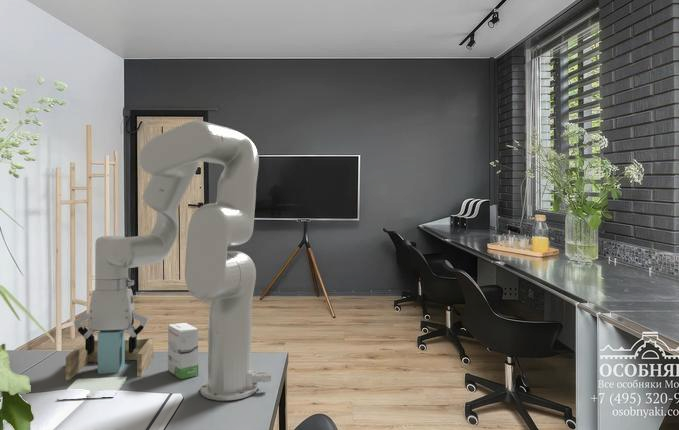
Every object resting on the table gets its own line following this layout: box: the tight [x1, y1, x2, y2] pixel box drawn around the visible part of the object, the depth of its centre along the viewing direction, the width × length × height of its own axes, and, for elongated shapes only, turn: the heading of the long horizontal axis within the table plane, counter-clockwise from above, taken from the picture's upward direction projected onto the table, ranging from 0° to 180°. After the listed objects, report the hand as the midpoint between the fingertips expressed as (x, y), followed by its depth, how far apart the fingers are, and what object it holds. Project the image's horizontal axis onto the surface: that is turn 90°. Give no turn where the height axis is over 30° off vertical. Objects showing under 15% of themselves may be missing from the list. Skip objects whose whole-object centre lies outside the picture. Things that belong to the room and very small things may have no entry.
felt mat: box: [66, 376, 128, 398], centre depth 107 cm, size 11×11×1 cm
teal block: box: [97, 330, 126, 374], centre depth 120 cm, size 5×5×10 cm
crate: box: [65, 337, 154, 381], centre depth 121 cm, size 17×14×6 cm
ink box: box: [167, 322, 199, 380], centre depth 118 cm, size 9×5×12 cm, turn 39°
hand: (111, 352), depth 120 cm, fingers open, 9 cm apart
